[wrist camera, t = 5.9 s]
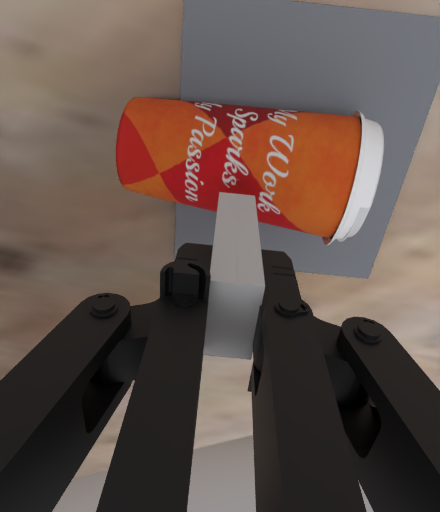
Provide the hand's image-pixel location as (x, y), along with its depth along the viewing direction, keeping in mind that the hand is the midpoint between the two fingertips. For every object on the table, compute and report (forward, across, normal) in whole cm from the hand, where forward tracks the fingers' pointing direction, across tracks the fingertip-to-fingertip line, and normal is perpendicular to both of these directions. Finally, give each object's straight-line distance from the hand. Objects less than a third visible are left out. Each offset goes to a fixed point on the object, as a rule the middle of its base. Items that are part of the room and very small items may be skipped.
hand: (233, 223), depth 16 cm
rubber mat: (+12, +4, 0) cm, 12 cm away
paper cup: (+8, -7, +1) cm, 11 cm away
